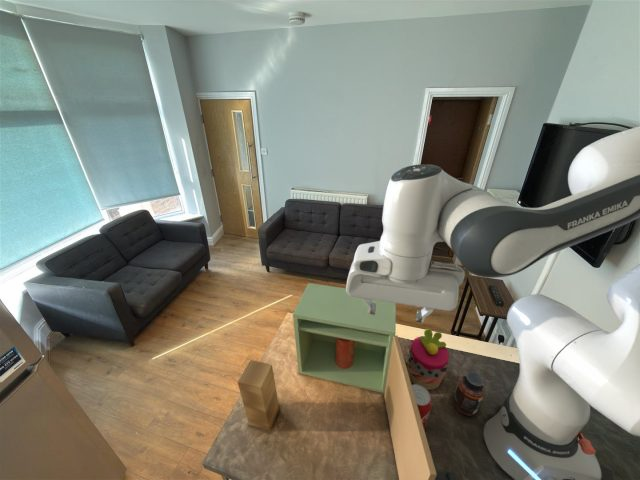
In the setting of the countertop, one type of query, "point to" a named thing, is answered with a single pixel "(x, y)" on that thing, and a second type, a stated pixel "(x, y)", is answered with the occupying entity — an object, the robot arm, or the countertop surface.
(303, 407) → the countertop surface
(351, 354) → the red tall cylinder
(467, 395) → the supplement bottle
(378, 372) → the cupboard
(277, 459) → the countertop surface
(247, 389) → the plinth
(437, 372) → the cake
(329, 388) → the countertop surface
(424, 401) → the beverage can
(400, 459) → the cupboard door
